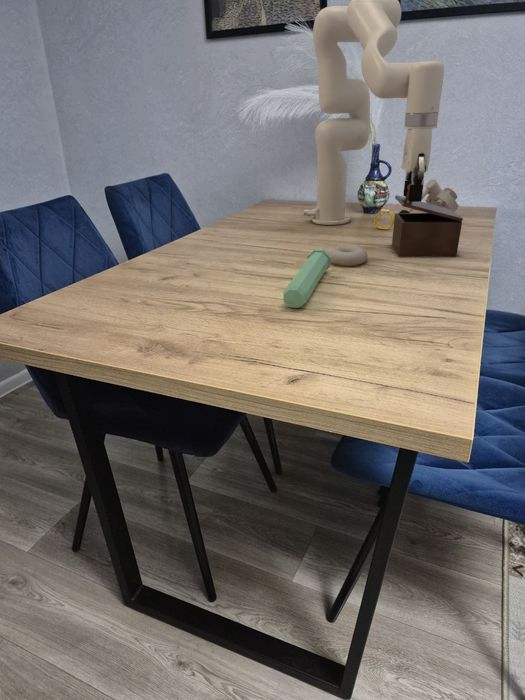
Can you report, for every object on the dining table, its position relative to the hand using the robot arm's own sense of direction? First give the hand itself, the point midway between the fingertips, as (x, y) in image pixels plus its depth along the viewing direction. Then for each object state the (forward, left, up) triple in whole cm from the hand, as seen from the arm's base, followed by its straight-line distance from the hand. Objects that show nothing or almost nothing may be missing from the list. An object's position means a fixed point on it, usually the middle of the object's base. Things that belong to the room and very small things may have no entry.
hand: (412, 198), depth 121 cm
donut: (-17, -10, -14) cm, 24 cm away
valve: (+13, +36, -14) cm, 41 cm away
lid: (+4, 0, -3) cm, 5 cm away
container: (-27, -29, -14) cm, 42 cm away
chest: (+4, 0, -14) cm, 14 cm away
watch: (-3, +24, -14) cm, 28 cm away
